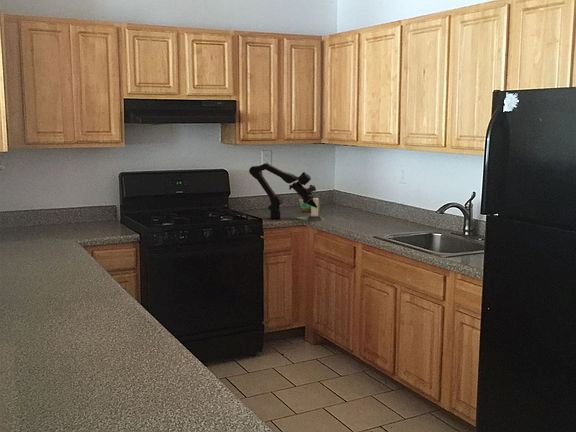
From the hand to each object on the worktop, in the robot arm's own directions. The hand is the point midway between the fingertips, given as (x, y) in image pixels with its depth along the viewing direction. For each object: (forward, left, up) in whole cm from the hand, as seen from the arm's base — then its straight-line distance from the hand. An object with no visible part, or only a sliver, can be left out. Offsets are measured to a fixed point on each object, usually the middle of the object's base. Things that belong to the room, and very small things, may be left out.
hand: (316, 206), depth 429 cm
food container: (+6, +32, -9) cm, 33 cm away
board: (-3, +3, -9) cm, 10 cm away
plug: (-1, +1, -7) cm, 7 cm away
